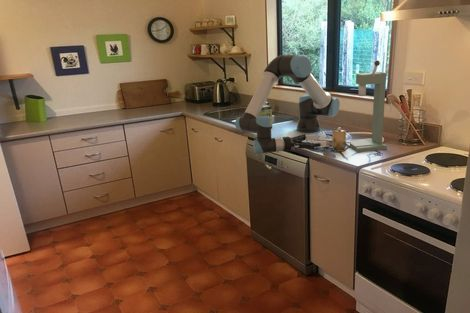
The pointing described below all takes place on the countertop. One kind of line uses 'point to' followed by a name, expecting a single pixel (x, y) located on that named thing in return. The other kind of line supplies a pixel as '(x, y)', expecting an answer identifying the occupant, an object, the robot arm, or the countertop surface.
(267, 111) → the protein box
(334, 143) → the housing
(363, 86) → the arbor press
